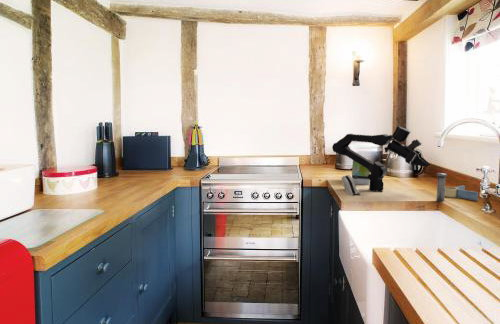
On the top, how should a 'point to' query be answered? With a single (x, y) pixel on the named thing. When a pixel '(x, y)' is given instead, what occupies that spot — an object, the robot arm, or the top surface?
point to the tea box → (360, 173)
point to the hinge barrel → (460, 193)
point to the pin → (441, 186)
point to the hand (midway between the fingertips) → (428, 165)
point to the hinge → (349, 185)
